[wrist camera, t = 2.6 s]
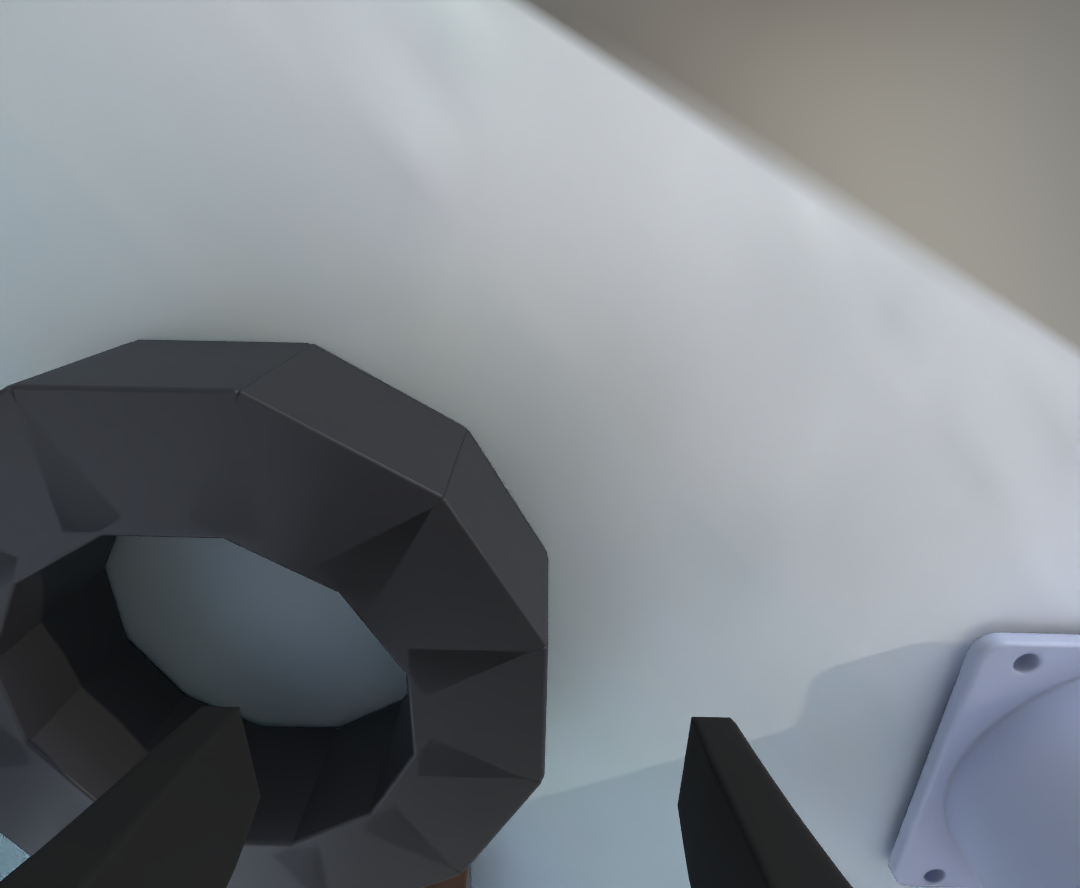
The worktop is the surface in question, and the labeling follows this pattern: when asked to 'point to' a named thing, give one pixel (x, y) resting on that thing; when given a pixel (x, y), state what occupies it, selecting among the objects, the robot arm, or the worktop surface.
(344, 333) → the worktop surface
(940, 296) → the worktop surface
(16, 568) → the ring
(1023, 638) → the robot arm
